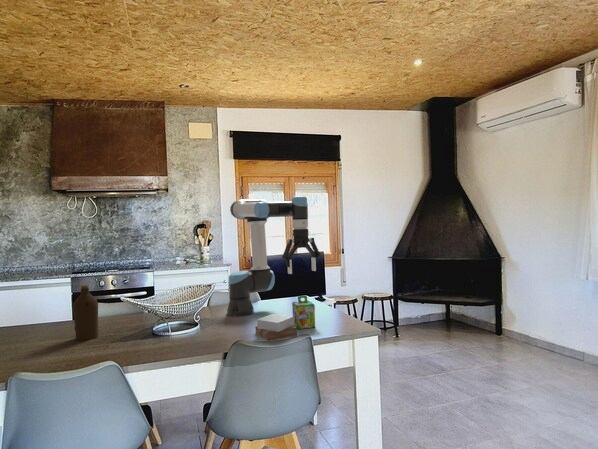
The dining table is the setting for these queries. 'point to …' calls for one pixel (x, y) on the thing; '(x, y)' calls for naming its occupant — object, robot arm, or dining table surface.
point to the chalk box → (303, 313)
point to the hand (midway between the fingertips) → (302, 272)
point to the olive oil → (85, 315)
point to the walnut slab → (276, 333)
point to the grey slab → (275, 322)
